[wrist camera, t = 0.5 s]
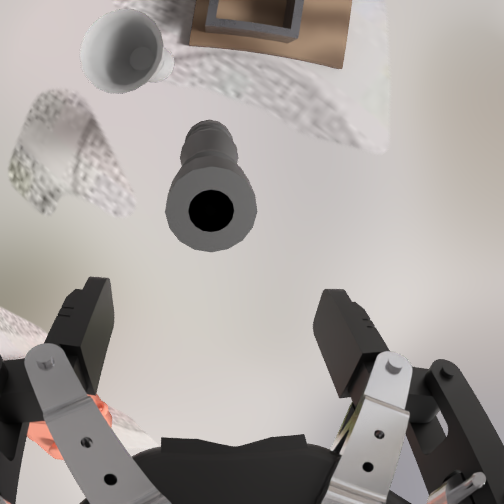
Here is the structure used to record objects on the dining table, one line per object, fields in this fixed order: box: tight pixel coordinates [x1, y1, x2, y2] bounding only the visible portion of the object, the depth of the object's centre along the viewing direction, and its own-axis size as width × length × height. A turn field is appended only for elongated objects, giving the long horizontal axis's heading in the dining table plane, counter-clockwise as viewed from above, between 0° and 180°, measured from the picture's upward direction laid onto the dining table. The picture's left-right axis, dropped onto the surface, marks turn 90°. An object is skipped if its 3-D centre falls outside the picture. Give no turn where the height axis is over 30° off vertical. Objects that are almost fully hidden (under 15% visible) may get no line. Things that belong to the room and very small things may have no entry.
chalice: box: [80, 9, 174, 94], centre depth 27 cm, size 7×7×18 cm
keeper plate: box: [189, 0, 352, 69], centre depth 33 cm, size 14×20×2 cm
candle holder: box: [165, 120, 257, 252], centre depth 31 cm, size 6×6×25 cm
